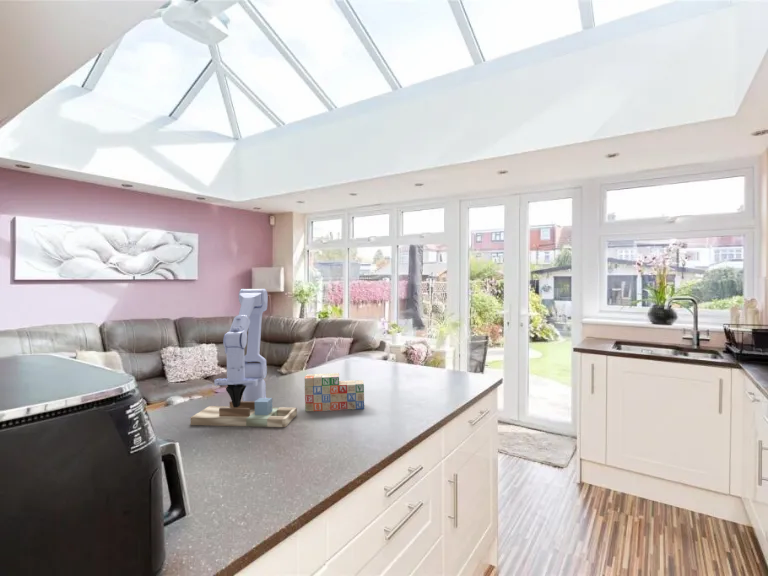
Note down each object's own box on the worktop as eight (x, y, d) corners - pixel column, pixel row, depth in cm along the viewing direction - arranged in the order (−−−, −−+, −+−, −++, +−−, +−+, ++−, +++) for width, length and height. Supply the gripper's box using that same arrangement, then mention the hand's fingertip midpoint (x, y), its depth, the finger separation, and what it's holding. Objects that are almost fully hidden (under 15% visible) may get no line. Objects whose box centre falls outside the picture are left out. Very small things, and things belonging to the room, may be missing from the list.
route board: (209, 413, 147) (209, 399, 147) (296, 414, 144) (296, 400, 144) (190, 424, 135) (190, 409, 135) (285, 427, 132) (285, 411, 132)
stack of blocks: (363, 404, 155) (363, 371, 155) (364, 409, 149) (363, 375, 149) (306, 406, 154) (306, 373, 153) (304, 411, 147) (304, 377, 147)
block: (260, 410, 141) (259, 397, 141) (272, 410, 140) (272, 398, 140) (254, 414, 137) (254, 401, 136) (267, 415, 136) (267, 401, 136)
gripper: (209, 369, 136) (210, 409, 136) (251, 369, 134) (252, 410, 135) (219, 364, 143) (220, 403, 143) (260, 364, 142) (260, 404, 142)
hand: (236, 406), depth 140 cm, fingers closed
